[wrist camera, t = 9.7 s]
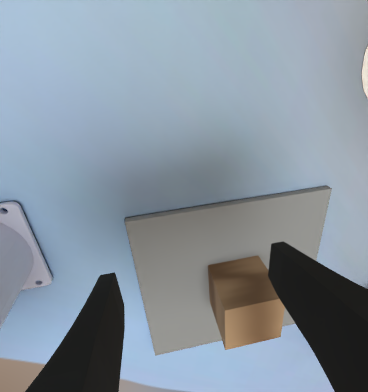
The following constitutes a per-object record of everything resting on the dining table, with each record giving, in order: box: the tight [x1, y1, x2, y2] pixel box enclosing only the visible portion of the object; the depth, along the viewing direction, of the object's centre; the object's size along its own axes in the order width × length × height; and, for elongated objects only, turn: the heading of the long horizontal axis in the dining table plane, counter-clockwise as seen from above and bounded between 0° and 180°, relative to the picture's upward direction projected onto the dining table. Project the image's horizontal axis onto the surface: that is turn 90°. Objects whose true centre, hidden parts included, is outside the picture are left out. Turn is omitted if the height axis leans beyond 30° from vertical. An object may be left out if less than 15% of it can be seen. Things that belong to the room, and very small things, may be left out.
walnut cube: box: [208, 256, 285, 350], centre depth 22 cm, size 5×5×5 cm
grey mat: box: [125, 186, 332, 356], centre depth 25 cm, size 18×18×1 cm
